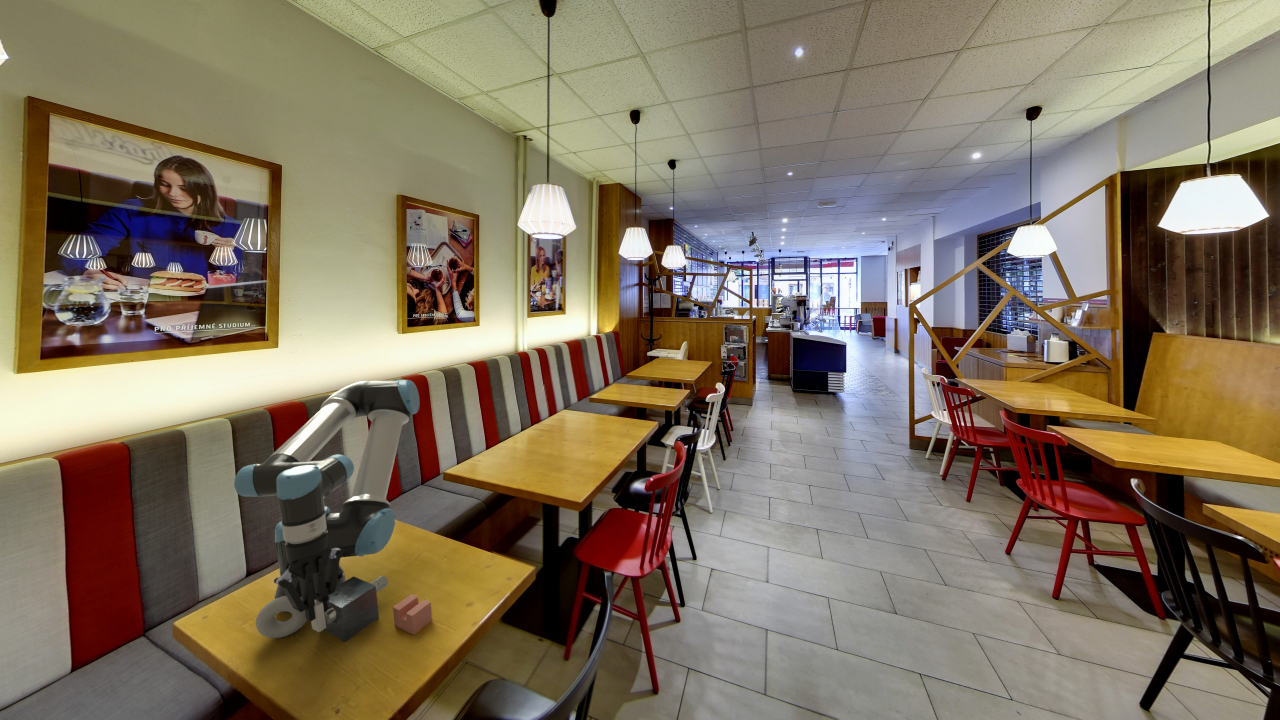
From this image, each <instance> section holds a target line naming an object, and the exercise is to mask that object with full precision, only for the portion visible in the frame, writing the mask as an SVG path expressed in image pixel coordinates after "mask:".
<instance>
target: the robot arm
mask: <svg viewBox="0 0 1280 720" xmlns="http://www.w3.org/2000/svg"><path fill="white" fill-rule="evenodd" d="M419 410H420V395H419V391H418V388H417V386H416V384H415V382H414V381H412V380H410V379H395V380H394V379H389V380H386V379H385V380H362V381H357V382H354V383H352V384H350V385H347V386H345V387H343V388H340V389H339V390H338V391H336V392H334V393H333V394H332V395H330V396H329V397H327V399H325V400H324V401H323V402H322V404H321V405H320V410H319V411H317V412H316V413H315V415H313V416H312V417H311V418H310V419H309V420H308V421H307V422H306V423H304V425H302V426H301V427H300V428H299V429H298V430H297V431H296V432H295V433H294V434H293V435H292V436H291V437H289V438H288V439H287V440H286V441H285V442H284V443H283V444H282V445H281V446H279V447H278V448H277V449H276V450H275V451H274V452H273V453H272V454H271V455H270V456H269V457H268V458H267V459H266V460H265V461H263V462H262V463H254V464H248V465H246V466H242V468H241V469H240V470H239V471H238V472H237V474H236V475H235V477H234V481H233V486H234V490H235V491H236V493H237V495H239V496H241V497H243V498H244V497H248V498H249V497H251V498H252V497H253V498H255V497H257V498H258V497H259V498H263V497H270V496H271V497H272V496H273V497H274V496H276V497H277V499H278V500H277V502H278V506H279V511H280V516H281V518H280V519H281V521H279V522H278V523H277V524H276V526H275V529H274V543H275V548H276V553H277V554H276V555H277V563H278V567H279V574H280V576H276V578H274V580H273V583H274V584H276V585H277V586H276V591H275V593H274V599H277V598H279V597H282V596H287V598H288V600H289V601H290V603H291V605H292V607H293V608H294V609H296V610H297V611H299V612H303V611H304V610H305V614H306V619H307V621H309V622H311V629H312V630H313V631H316V632H317V633H320V632H322V631H324V630H323V629H325V628H326V623H325V616H324V613H325V612H327V610H328V605H327V601H328V600H329V597H328V596H329V595H330V594H332V593H334V592H335V590H336V586H338V585H340V584H341V583H343V582H345V581H346V575H345V571H344V569H343V568H342V567H341V566H342V565H340V560H341V559H342V558H348V557H364V556H368V555H374V554H379V552H381V551H382V550H384V548H385V547H386V546H387V544H388V543H389V541H390V539H391V538H392V535H393V534H394V529H395V526H396V525H395V524H396V520H395V519H396V515H395V514H396V513H395V512H394V510H393V509H391V503H390V502H389V501H388V500H387V495H388V489H389V486H390V482H391V478H392V472H393V468H394V465H395V459H396V454H397V452H398V446H399V441H400V438H401V433H402V428H403V426H404V425H405V424H408V422H409V421H410V417H411V415H415V414H417V413H418V412H419ZM360 417H367V418H368V420H370V422H371V424H370V427H369V431H368V434H367V438H366V441H365V445H364V449H363V453H362V457H361V460H360V464H359V467H358V471H357V474H356V478H355V483H354V486H353V489H352V493H351V497H350V498H349V499H347V500H345V501H344V502H343V503H342V507H341V510H340V512H332V513H331V509H330V507H328V506H327V505H325V501H324V499H325V498H326V497H328V496H329V495H330V494H331V493H333V492H334V491H335V490H337V489H338V488H340V487H341V486H342V485H344V484H345V483H346V482H347V481H348V480H349V479H350V478H351V477H352V476H353V474H354V470H355V464H354V462H353V460H352V459H351V458H350V457H348V456H346V455H343V454H338V453H337V454H333V455H330V456H328V457H325V458H324V459H322V460H313V458H315V456H316V455H317V454H319V452H320V451H321V450H322V449H323V448H324V446H325V445H327V444H328V442H330V441H331V440H332V438H333V437H334V436H335V435H336V434H337V433H338V432H339V431H340V429H342V428H343V426H345V425H347V424H350V423H352V422H353V421H354V419H355V418H356V419H357V418H360ZM300 597H302V599H301V598H300ZM283 613H288V612H287V611H284V612H283Z"/></svg>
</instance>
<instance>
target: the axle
mask: <svg viewBox="0 0 1280 720" xmlns="http://www.w3.org/2000/svg"><path fill="white" fill-rule="evenodd" d="M369 583H370V584H373V585H375V586H376V593H377V594H378V592H379V591H381V590H383V589H384V588H386V587H387V586H388V585H389V580H388V578H387V576H385V575H383V574H382V575H381V576H379V577H378V578H376V579H374V580H373V581H372V582H369ZM324 616H325V622H326V623H328V624H330V623H332V622H333V621H335V620H336V611H335V609H334V608H330V609H328V610H327V612H325V613H324Z"/></svg>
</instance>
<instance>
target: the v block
mask: <svg viewBox="0 0 1280 720" xmlns="http://www.w3.org/2000/svg"><path fill="white" fill-rule="evenodd" d="M392 611H393V621H394V622H393V623H394V626H395V627H397V628H399V629H401V630H404V631H406V632H407V633H409V634H412V635H416V634H417V633H418V632H419V631H421V629H423V628H424V627H425V626H426V625H428V624H429V623H430V622H431V621H433V616H432V615H433V614H432V602H431V601H429V600H427V599H423V600H421V601H420V602H419V596H417V595H415V594H412V593H411V594H409V595H408V596H407V597H405V598H404V599H403V600H401V601H400V602H398V603H397V604H395V605H394V606H393V607H392Z"/></svg>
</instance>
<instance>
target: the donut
mask: <svg viewBox="0 0 1280 720" xmlns="http://www.w3.org/2000/svg"><path fill="white" fill-rule="evenodd" d="M300 598H301V599H302V597H300ZM284 611H287V612H286V613H290V614H291V617H290V618H289V619H288V620H285V621H284V620H283V621H281V620H277V619H276V616H277V614H279V613H285V612H284ZM307 621H308V620H307V619H306V614H305V610H304V611H303V612H299V611H297V610H296V609H294V608H293V607H292V605H291V603H290V601H289V600H288V598H287V596H282V597H279V598H277V599H275V598H274V599H272V600H271V601H270V602H268V603H266V604H265V605H264V606H263V607H262V608H261V610H260V611H259V612H258V614H257V616H256V619H255V627H256V630H257V632H258V633H259V634H260V635H261V636H263V637H265V638H268V639H280V638H284V637H288V636H290V635H292V634H294V633H295V632H297V631H298V630H300V629H301V628H302V627H303V626H304V625H305V624H306V623H307Z"/></svg>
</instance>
